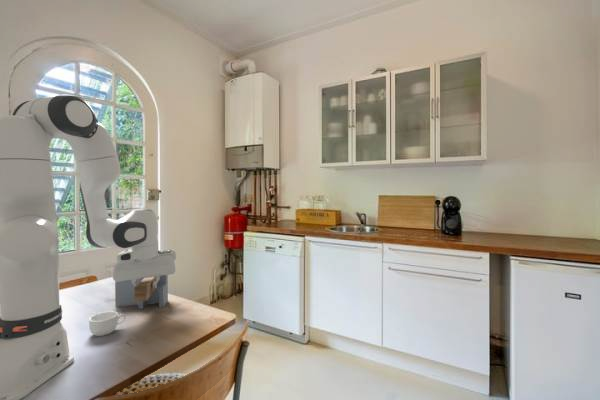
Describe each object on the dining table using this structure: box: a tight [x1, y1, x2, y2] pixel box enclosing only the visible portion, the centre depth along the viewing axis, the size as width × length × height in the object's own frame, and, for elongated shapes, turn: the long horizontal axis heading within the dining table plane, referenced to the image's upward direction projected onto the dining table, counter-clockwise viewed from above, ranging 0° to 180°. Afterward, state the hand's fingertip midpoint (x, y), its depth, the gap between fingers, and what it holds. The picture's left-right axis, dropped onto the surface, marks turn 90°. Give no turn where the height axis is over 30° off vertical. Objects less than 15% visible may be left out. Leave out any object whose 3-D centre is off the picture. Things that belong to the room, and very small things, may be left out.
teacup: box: [88, 310, 126, 337], centre depth 92 cm, size 10×8×5 cm
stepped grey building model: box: [114, 275, 169, 309], centre depth 113 cm, size 6×19×18 cm, turn 99°
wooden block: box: [134, 276, 156, 302], centre depth 106 cm, size 16×4×6 cm, turn 14°
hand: (146, 289), depth 105 cm, fingers closed on wooden block, 4 cm apart
